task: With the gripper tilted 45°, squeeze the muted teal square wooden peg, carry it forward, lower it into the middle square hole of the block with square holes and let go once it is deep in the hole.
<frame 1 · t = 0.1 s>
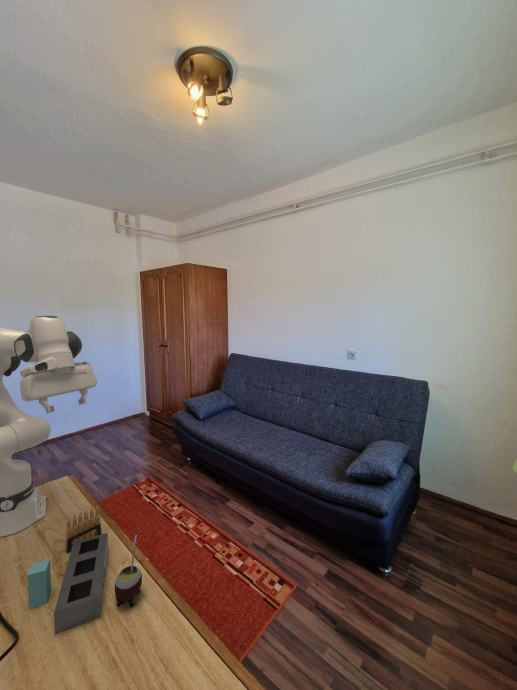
hand: (67, 408, 85), 52 cm above the table, tool tilted 20°, fingers open, 8 cm apart
ammunition clip: (84, 543, 98), on the table
mate gourd: (129, 597, 79), on the table
square peg: (40, 599, 78), on the table
block with square holes: (85, 584, 82), on the table
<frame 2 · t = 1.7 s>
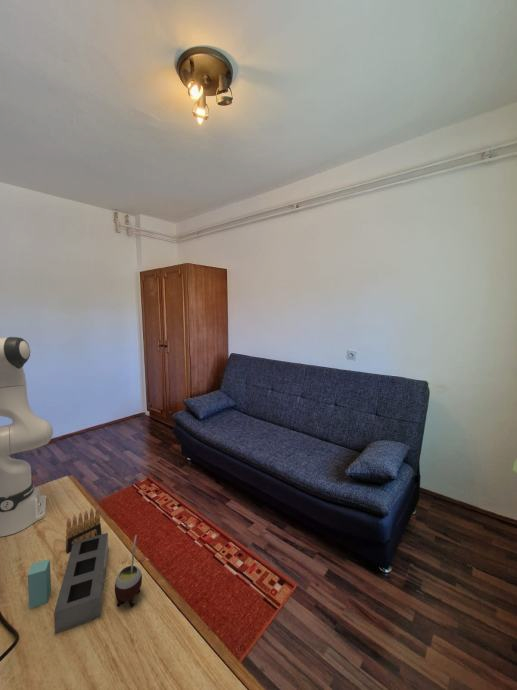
nothing on the table moved.
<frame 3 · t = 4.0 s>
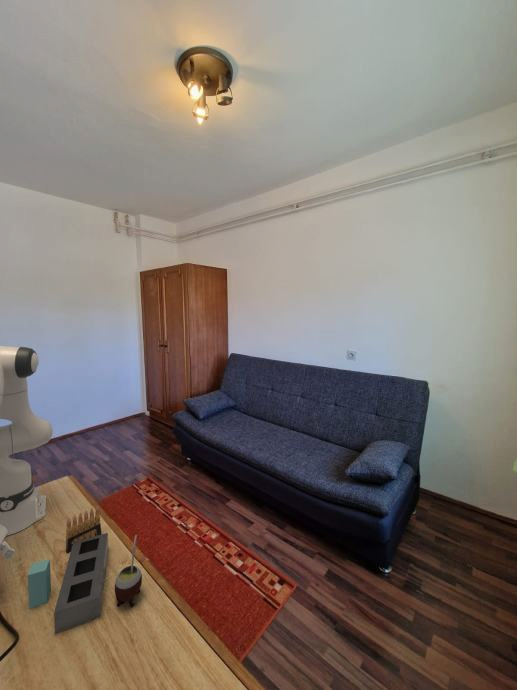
hand: (5, 569, 74), 12 cm above the table, tool tilted 45°, fingers open, 8 cm apart
nothing on the table moved.
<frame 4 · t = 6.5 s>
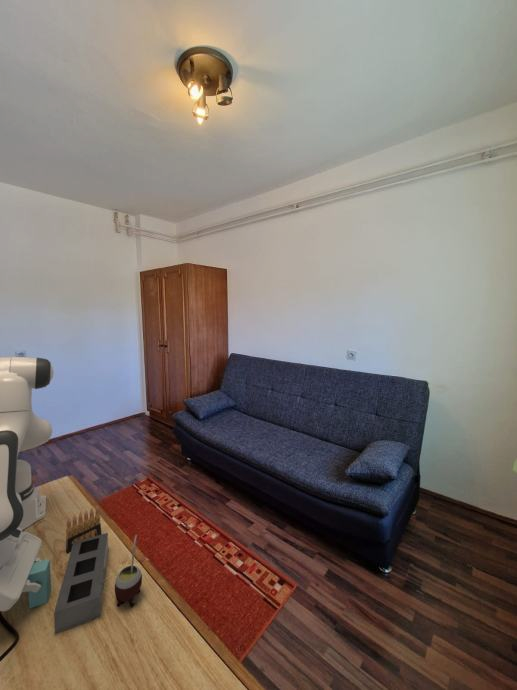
hand: (42, 579, 78), 6 cm above the table, tool tilted 45°, fingers closed on square peg, 4 cm apart
square peg: (40, 599, 78), on the table, touching gripper
everything else where it was.
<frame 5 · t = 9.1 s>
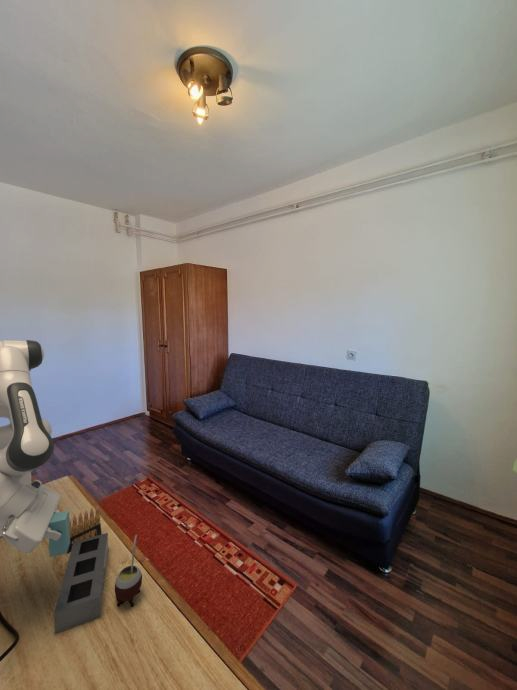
hand: (62, 529, 78), 20 cm above the table, tool tilted 45°, fingers closed on square peg, 4 cm apart
square peg: (60, 549, 78), point 14 cm above the table, touching gripper
everything else where it was.
when the fingers open (8 cm above the table, at t = 12.0 s): square peg drops 1 cm, resting on block with square holes.
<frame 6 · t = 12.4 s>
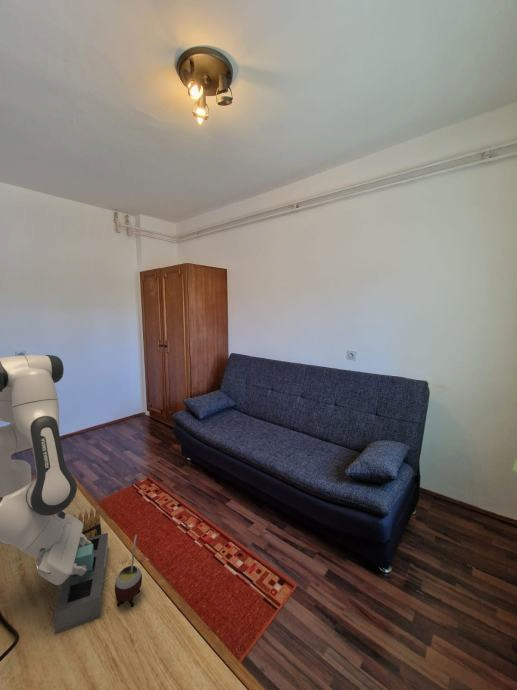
hand: (87, 558, 82), 8 cm above the table, tool tilted 45°, fingers open, 8 cm apart
square peg: (85, 581, 82), point 1 cm above the table, touching block with square holes
everything else where it was.
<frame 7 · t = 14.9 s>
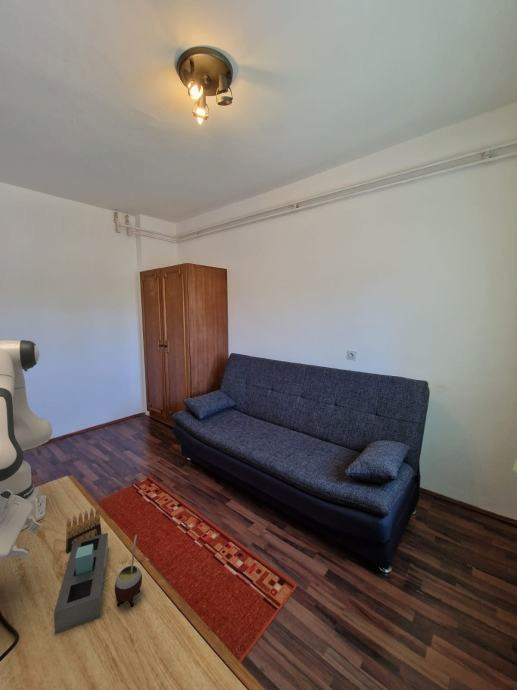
hand: (32, 541, 76), 18 cm above the table, tool tilted 45°, fingers open, 8 cm apart
nothing on the table moved.
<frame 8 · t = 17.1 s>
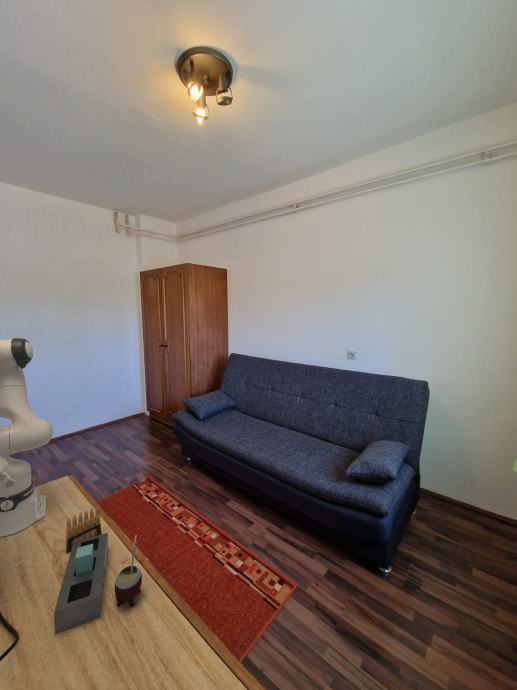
hand: (5, 494, 75), 31 cm above the table, tool tilted 45°, fingers open, 8 cm apart
nothing on the table moved.
at the end: square peg 0.1 cm off-centre on the block with square holes, point 1.0 cm above the block with square holes's base; square peg tilted 0°; the gripper is holding nothing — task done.
